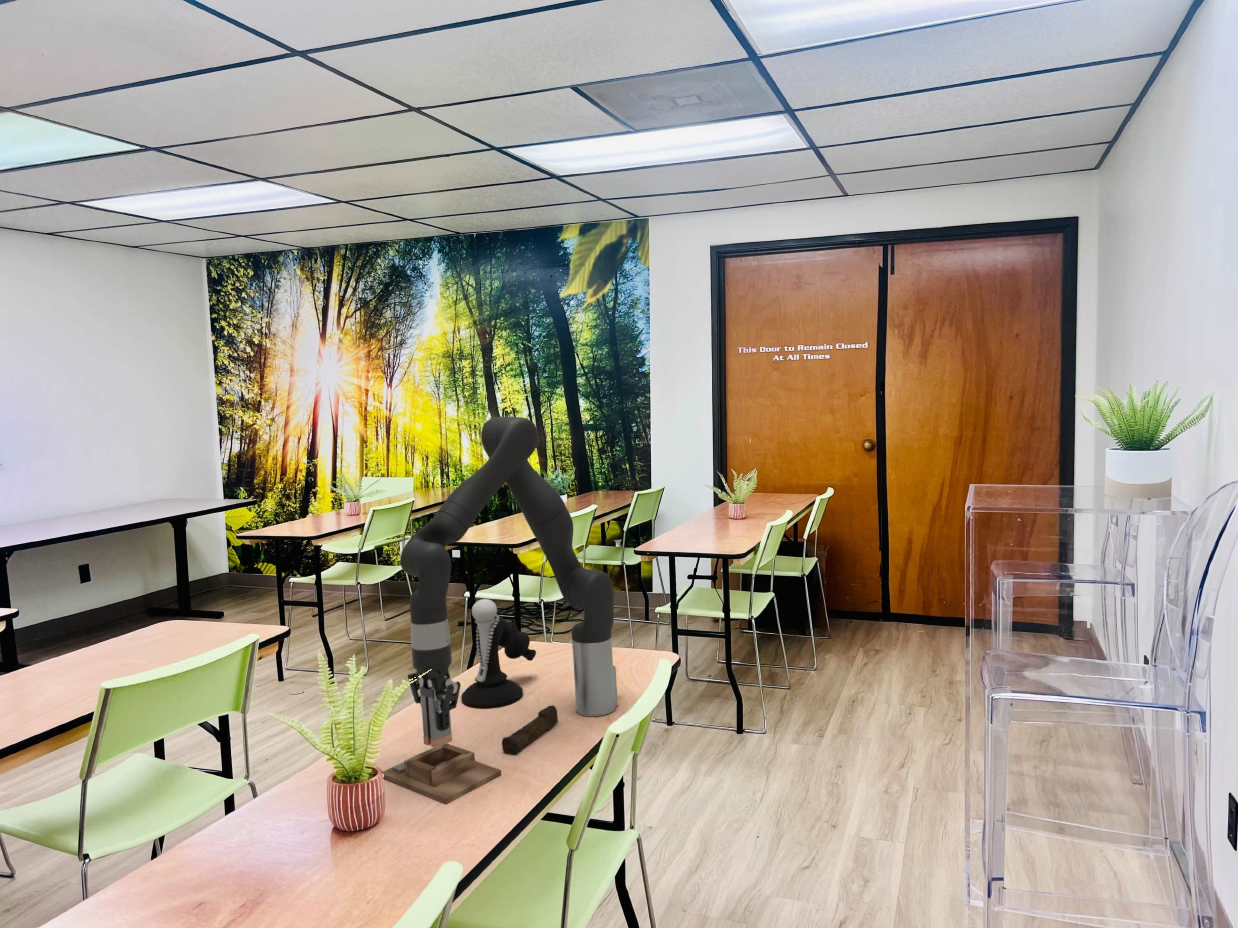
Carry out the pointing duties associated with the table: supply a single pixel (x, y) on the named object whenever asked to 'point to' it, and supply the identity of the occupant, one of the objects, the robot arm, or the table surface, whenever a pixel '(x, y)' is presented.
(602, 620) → the robot arm
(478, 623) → the sculpture
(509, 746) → the dark wooden branch
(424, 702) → the grey square peg
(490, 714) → the table surface
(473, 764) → the stand
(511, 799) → the table surface
